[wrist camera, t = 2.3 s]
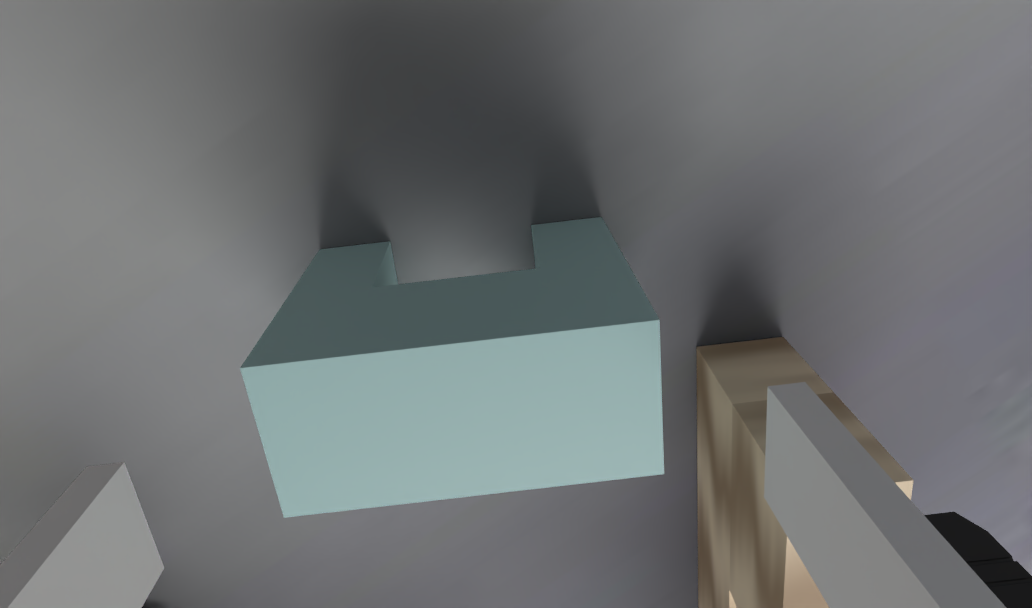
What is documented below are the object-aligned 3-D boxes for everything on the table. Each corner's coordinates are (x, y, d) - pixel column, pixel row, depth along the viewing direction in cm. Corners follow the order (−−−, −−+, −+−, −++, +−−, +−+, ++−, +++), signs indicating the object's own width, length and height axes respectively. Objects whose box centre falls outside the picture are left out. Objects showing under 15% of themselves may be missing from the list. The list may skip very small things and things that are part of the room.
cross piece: (319, 249, 22) (240, 368, 15) (601, 217, 22) (659, 319, 15) (345, 360, 24) (284, 517, 17) (608, 330, 24) (664, 474, 17)
